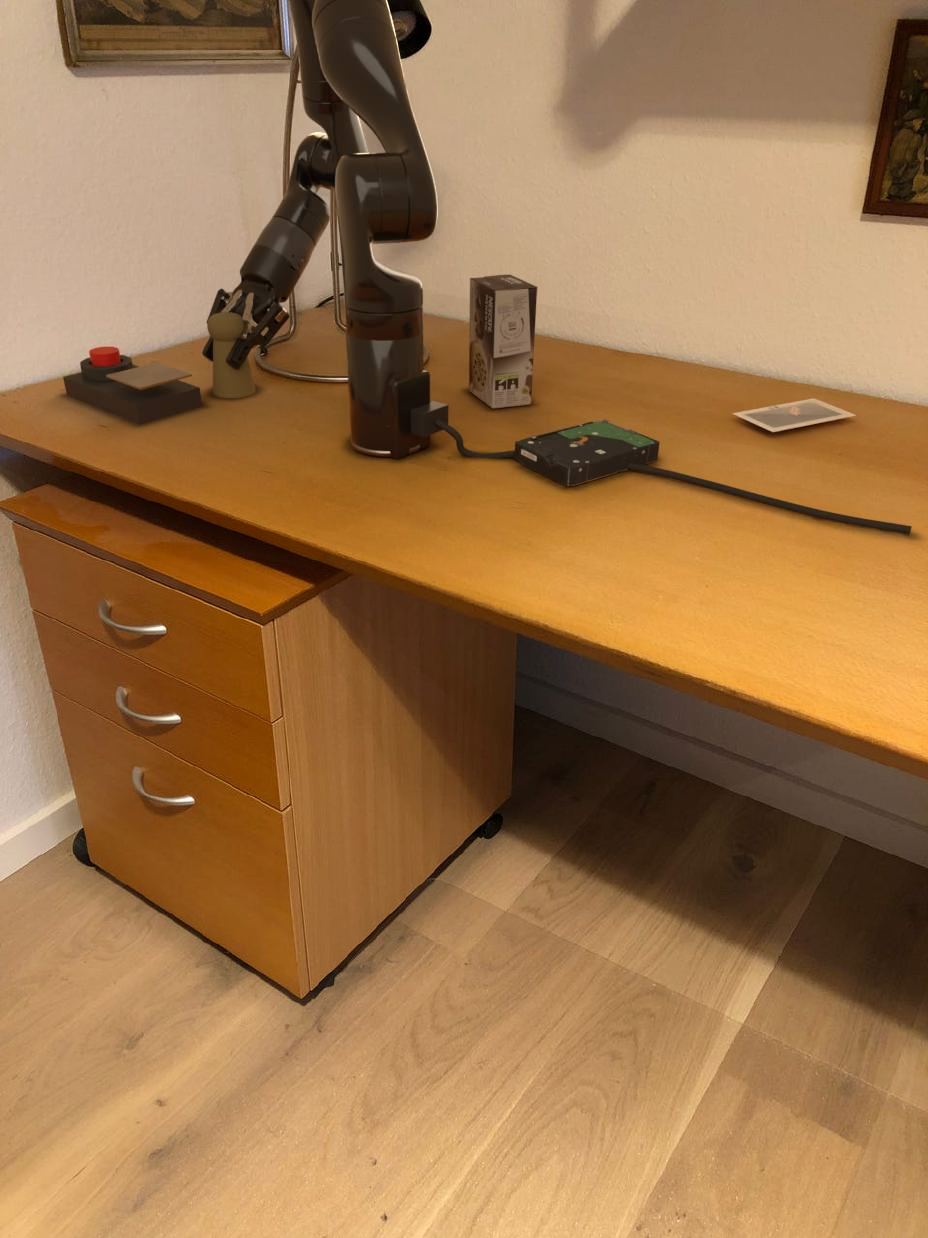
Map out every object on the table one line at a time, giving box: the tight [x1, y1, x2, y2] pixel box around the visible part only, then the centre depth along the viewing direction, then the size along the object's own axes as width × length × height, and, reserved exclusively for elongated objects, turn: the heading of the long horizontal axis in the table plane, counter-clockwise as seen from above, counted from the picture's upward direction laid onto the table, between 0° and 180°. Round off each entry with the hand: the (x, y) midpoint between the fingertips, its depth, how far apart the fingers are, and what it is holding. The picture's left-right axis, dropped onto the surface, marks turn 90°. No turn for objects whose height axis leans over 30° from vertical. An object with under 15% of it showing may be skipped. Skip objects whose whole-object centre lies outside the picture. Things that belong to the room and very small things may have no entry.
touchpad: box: [731, 397, 857, 433], centre depth 128 cm, size 8×15×2 cm, turn 117°
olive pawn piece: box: [206, 312, 256, 399], centre depth 133 cm, size 6×6×11 cm
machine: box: [62, 354, 203, 426], centre depth 131 cm, size 18×10×4 cm, turn 50°
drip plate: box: [106, 362, 193, 390], centre depth 127 cm, size 8×8×1 cm
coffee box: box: [468, 274, 538, 409], centre depth 132 cm, size 9×6×16 cm
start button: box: [88, 346, 121, 366], centre depth 133 cm, size 4×4×2 cm
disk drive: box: [513, 419, 661, 487], centre depth 115 cm, size 10×3×15 cm
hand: (219, 361), depth 133 cm, fingers closed on olive pawn piece, 4 cm apart
